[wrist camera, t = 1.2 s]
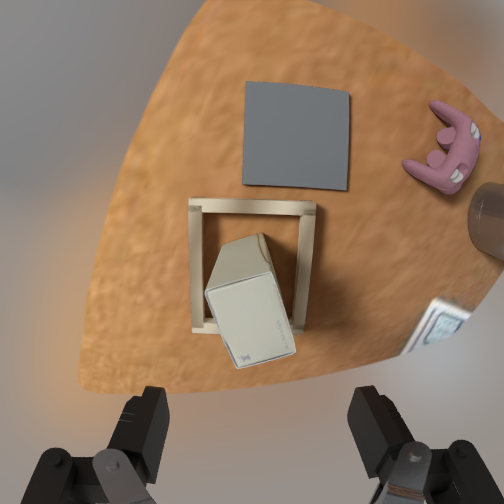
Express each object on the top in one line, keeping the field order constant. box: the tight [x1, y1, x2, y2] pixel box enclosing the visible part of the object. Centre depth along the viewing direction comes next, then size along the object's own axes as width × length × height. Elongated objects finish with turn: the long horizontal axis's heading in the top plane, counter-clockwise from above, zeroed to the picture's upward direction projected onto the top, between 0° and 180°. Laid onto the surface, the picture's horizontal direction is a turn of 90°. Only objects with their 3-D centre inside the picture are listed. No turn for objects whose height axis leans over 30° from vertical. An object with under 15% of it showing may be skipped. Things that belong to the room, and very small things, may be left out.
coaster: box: [242, 81, 349, 190], centre depth 26 cm, size 10×10×1 cm
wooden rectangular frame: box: [189, 197, 316, 335], centre depth 28 cm, size 11×13×2 cm
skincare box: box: [205, 233, 296, 369], centre depth 24 cm, size 6×4×12 cm
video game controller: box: [402, 100, 481, 194], centre depth 24 cm, size 10×5×7 cm, turn 151°
